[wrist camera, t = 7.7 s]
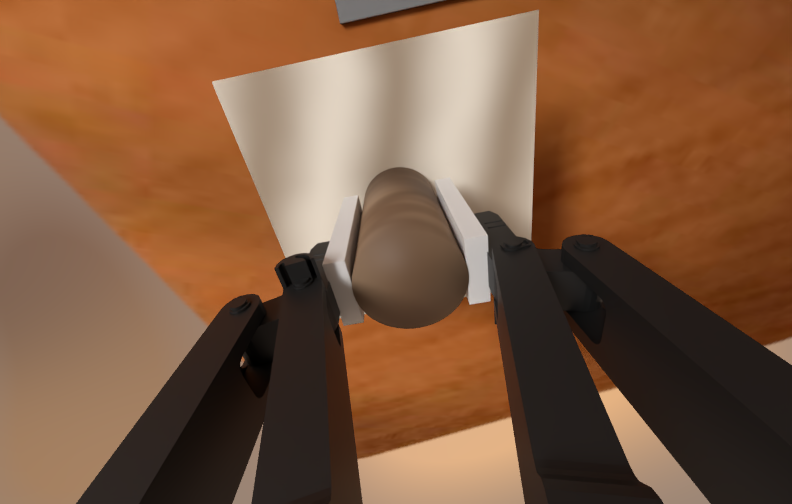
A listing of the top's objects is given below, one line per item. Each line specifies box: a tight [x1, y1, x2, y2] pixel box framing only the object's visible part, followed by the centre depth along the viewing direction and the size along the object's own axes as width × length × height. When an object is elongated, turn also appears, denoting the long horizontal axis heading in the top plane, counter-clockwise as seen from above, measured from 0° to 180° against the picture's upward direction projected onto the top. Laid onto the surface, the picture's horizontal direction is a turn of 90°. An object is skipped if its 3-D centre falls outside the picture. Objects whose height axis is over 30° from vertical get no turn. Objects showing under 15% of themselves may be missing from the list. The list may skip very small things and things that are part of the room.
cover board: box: [212, 10, 539, 329], centre depth 15 cm, size 15×15×9 cm
